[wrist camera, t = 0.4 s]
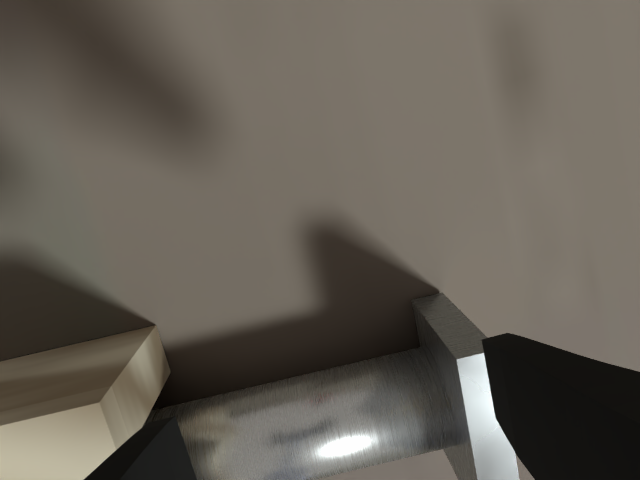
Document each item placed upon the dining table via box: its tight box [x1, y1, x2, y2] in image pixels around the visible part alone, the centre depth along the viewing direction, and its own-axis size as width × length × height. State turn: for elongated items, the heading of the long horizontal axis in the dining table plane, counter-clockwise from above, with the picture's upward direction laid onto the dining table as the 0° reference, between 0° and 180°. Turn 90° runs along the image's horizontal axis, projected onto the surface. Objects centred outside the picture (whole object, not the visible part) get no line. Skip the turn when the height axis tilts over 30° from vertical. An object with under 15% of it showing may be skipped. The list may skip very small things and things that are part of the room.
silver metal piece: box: [143, 293, 519, 480], centre depth 19 cm, size 7×14×6 cm, turn 103°
